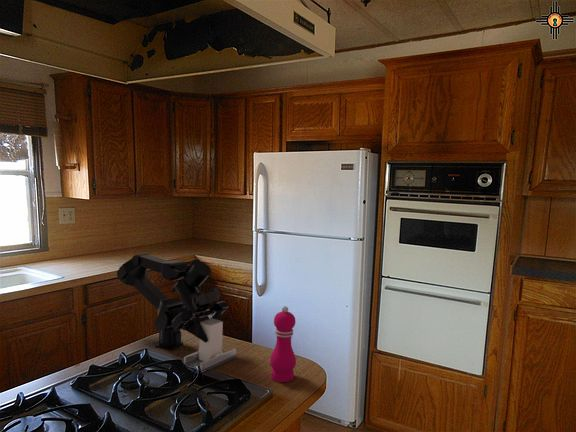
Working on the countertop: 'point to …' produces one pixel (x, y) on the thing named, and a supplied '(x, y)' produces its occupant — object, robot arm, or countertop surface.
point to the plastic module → (211, 339)
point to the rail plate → (211, 363)
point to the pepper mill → (283, 347)
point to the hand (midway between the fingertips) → (214, 338)
